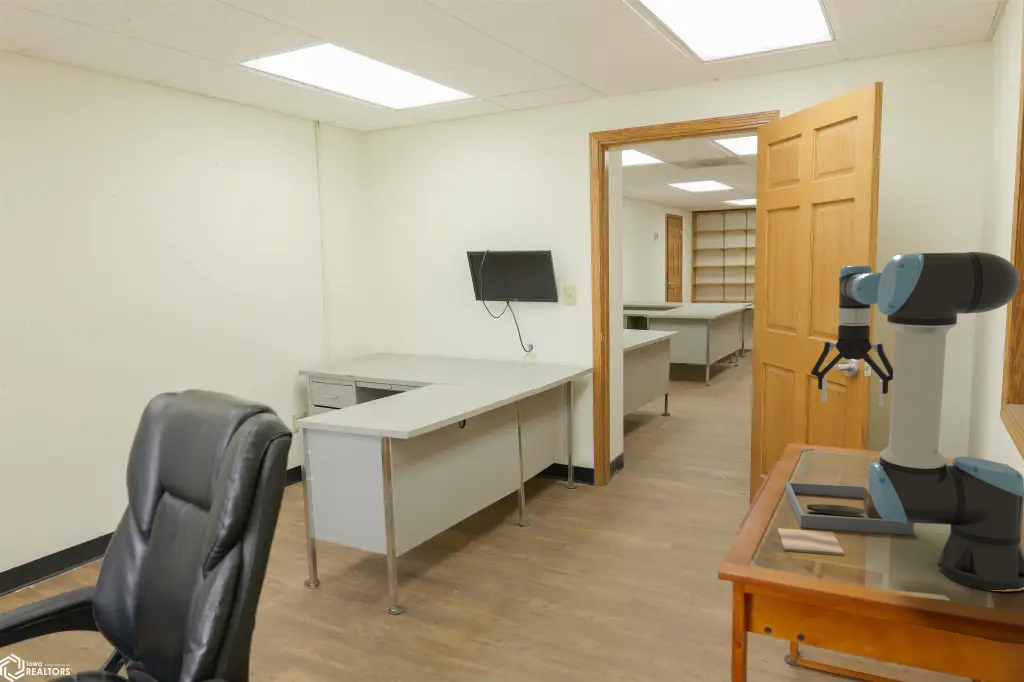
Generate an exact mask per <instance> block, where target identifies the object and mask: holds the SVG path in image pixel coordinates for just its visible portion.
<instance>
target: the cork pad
mask: <svg viewBox="0 0 1024 682" xmlns="http://www.w3.org/2000/svg"><path fill="white" fill-rule="evenodd" d="M777 533H778V536H779V538H780V541H781V545H782V548H783V551H786V552H798V553H808V554H809V553H811V554H823V555H837V556H845V552H844V550H843V548H842V547H841V545H840V542H839V540H838V539H837V537H836V535H835V533H834V531H823V530H821V531H820V530H812V529H811V530H807V529H796V528H794V529H793V528H779V527H778V528H777Z"/></svg>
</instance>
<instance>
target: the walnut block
mask: <svg viewBox="0 0 1024 682" xmlns="http://www.w3.org/2000/svg"><path fill="white" fill-rule="evenodd" d="M862 509H863V510H864V511H865V513H864V514H865V515H866V516H867V518H875V519H883V518H882V517H881V516H880V515H879V514H878V512H877V511H876V508H875V506H874V504H873V501H872V497H871V493H870V488H869V487H864V498H863V507H862Z"/></svg>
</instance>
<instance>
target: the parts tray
mask: <svg viewBox="0 0 1024 682" xmlns="http://www.w3.org/2000/svg"><path fill="white" fill-rule="evenodd" d="M864 487H869V485H867V486H866V485H849V484H848V485H847V484H834V483H833V484H832V483H831V484H830V483H813V482H811V483H810V482H797V481H796V482H794V481H786V483H785V493H786V496H787V497H788V500H789V502H790V505H791V507H792V510H793V512H794V515H795V517H796V520H797V523H798V525H799V527H800V528H805V529H806V528H807V529H819V530H821V529H822V530H834V531H835V530H836V531H852V532H861V533H863V532H865V533H876V534H877V533H878V534H881V533H882V534H894V535H904V536H905V535H908V536H914V527H915V523H903V522H895V521H887V520H885V519H883V518H873V517H854V516H839V515H825V514H807V513H806V514H805V513H804V512H803V509H802V507H801V505H800V502H799V501H798V500H799V499H798V497H797V496H796V494H804V495H816V496H817V495H818V496H830V497H845V498H846V497H847V498H860V499H864Z"/></svg>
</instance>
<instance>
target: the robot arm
mask: <svg viewBox="0 0 1024 682" xmlns="http://www.w3.org/2000/svg"><path fill="white" fill-rule="evenodd" d="M839 269H840V270H839V277H838V281H839V283H838V285H839V287H838V290H839V291H838V319H837V321H838V323H839V325H838V328H837V342H832V341H830V340H829V341H825V342H824V347H823V351H822V352H821V354H820V355H819V358H818V359H817V361H816V363H815V364H814V366H813V368H812V370H811V371H810V373H811V374H810V375H812V376H815V377H817V387H818V390H821V403H826V402H827V400H828V399H827V398H828V397H827V395H828V394H827V393H828V377H827V376H825V375H826V374H828V372H829V371H830V370H832V369H833V368H834V367H835V366H836V364H837V363H838V362H840V360H842V358H843V359H845V360H856V361H859V360H860V361H861V360H864V362H866V363H867V364H868V366H869V367H870V368H871V369H872V370H873V371H874V372H875V374H877V376H878V377H879V378H880V380H879V382H878V386H879V387H878V407H881V408H882V407H883V406H884V394H885V395H887V394H888V392H889V382H890V381H892V387H891V402H890V418H889V419H890V420H889V422H890V423H889V437H888V438H889V439H888V446H887V447H885V448H884V449H883V450H881V451H880V453H879V462H877V461H875V462H873V463H870V464H869V466H868V471H867V480H868V486H869V488H870V493H871V497H872V501H873V504H874V506H875V508H876V511H877V512H878V514H879V515H880V516H881V517H882V518H881V519H885V520H887V521H895V522H903V523H914V524H927V525H928V524H930V525H950V532H949V535H948V537H947V539H946V541H945V544H944V545H943V547H942V550H941V551H940V554H939V557H938V570H939V571H940V573H941V574H942V575H943V576H945V577H947V578H948V579H950V580H952V581H954V582H956V583H959V584H961V585H964V586H967V587H971V588H973V589H977V588H979V589H978V590H982V589H986V590H985V591H987V590H1006V589H1019V588H1022V587H1024V550H1023V547H1022V531H1023V518H1024V517H1023V516H1024V477H1023V475H1022V474H1021V472H1020V471H1018V470H1017V469H1016V468H1013V467H1011V466H1009V465H1007V464H1006V465H1005V464H1003V463H1000V462H997V461H993V460H989V459H983V458H979V457H972V456H956V457H954V459H953V460H952V461H951V463H952V465H948V464H947V459H946V458H945V457H944V455H943V454H942V453H940V452H939V448H940V447H939V445H940V435H941V434H940V433H941V432H940V431H941V418H942V416H941V414H942V405H943V404H942V403H943V389H944V387H943V385H944V373H945V361H946V347H947V346H946V345H947V333H948V332H949V331H950V330H952V329H953V328H954V327H956V326H957V325H958V324H957V321H958V314H979V313H987V312H991V311H994V310H996V309H1000V308H1002V307H1004V306H1005V305H1007V304H1008V303H1009V302H1011V301H1012V300H1013V299H1014V297H1015V296H1016V294H1017V293H1018V291H1019V288H1020V281H1021V280H1020V275H1019V273H1018V270H1017V269H1016V267H1015V266H1014V264H1012V262H1010V261H1009V260H1007V259H1006V258H1004V257H1002V256H999V255H996V254H994V253H989V252H983V251H981V252H980V251H970V252H969V251H968V252H922V253H921V252H913V253H905V254H904V253H903V254H897V255H894V256H893V257H892V258H890V259H889V260H888V261H887V263H885V266H884V267H883V270H882V272H872V267H871V266H870V265H843V266H842V267H841V268H839ZM876 304H877V308H878V310H879V312H880V313H881V314H883V315H885V316H887V319H886V320H887V321H886V322H887V324H888V325H889V326H891V327H892V329H893V330H894V331H895V332H894V333H895V334H894V350H893V351H894V352H893V366H892V364H891V362H890V361H889V360H890V359H889V358H888V357H887V355H886V352H885V350H884V344H883V342H878V343H871V341H870V339H871V336H870V335H871V326H870V325H869V323H871V305H876ZM834 348H835V349H836V350H837V351H838V352H839V353H838V354H837V355H836V356H835V357H834V358H833V359H832V360H831V361H830V362H829V363H828V364H827V365H826V366H825V367H824V368H823V369H822V370H821V371H820V368H821V367H822V366H823V363H824V362H825V360H826V358H827V357H828V355H829V354H830V351H833V349H834ZM871 349H873V350H874V352H876V353H877V355H878V357H879V359H880V361H881V362H882V364H883V366H884V368H885V370H886V372H887V374H888V375H887V374H886V373H885V372H884V371H883V369H882V368H881V367H880V366H879V365H878V364H877V362H875V361H874V359H873V358H872V357H871V355H870V354H869V352H870V350H871Z"/></svg>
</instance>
